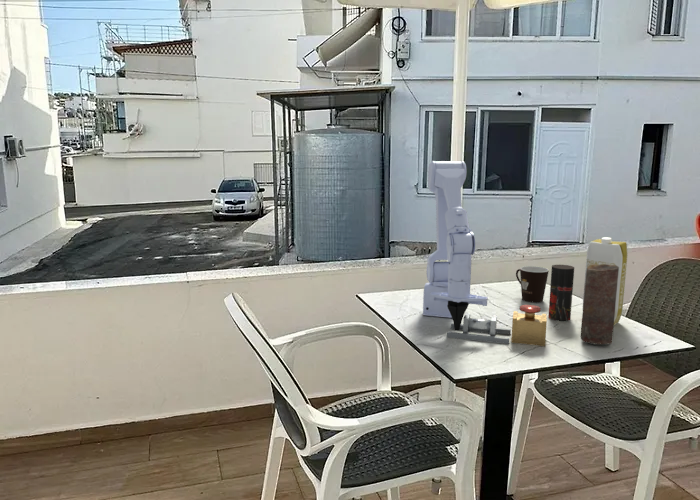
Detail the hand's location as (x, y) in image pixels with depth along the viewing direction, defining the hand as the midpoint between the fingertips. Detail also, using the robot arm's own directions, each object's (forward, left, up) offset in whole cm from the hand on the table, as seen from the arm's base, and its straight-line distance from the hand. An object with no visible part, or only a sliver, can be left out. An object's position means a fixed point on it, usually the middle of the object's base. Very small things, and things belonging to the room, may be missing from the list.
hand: (457, 329), depth 148 cm
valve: (+18, 0, -1) cm, 18 cm away
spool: (+6, 0, -1) cm, 6 cm away
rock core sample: (+34, +3, -1) cm, 34 cm away
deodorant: (+26, +22, -1) cm, 34 cm away
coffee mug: (+18, +41, -1) cm, 45 cm away
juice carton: (+37, +22, -1) cm, 43 cm away
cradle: (+6, 0, -1) cm, 6 cm away
